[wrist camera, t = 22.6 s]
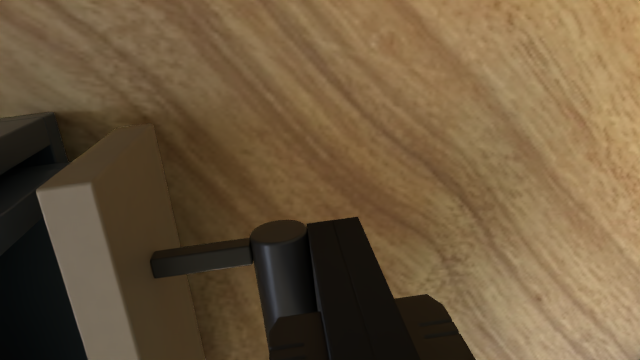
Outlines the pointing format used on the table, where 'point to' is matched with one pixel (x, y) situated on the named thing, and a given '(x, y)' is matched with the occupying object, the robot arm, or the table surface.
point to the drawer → (122, 259)
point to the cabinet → (30, 141)
